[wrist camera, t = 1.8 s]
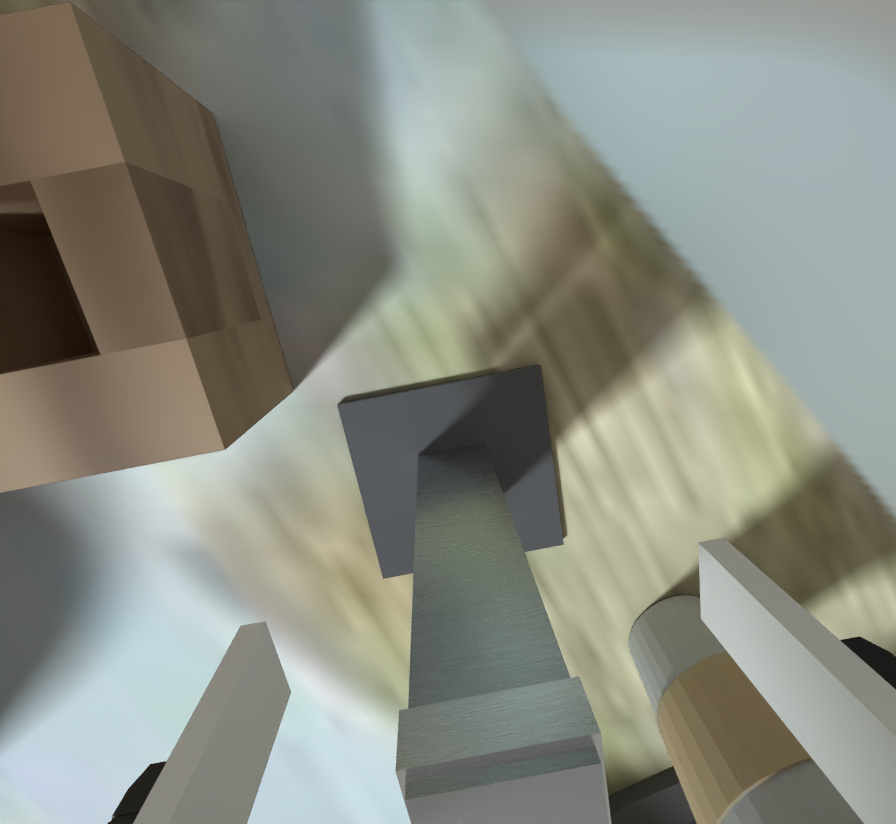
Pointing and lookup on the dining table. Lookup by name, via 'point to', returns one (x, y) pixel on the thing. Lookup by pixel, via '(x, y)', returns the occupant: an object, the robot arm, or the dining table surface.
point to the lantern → (652, 802)
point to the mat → (444, 427)
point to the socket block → (118, 264)
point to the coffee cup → (725, 728)
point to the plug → (488, 669)
